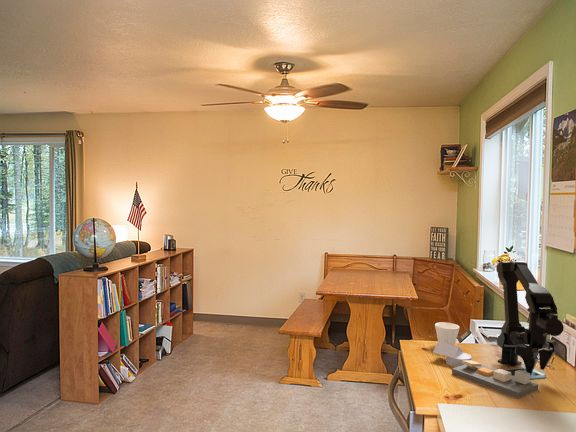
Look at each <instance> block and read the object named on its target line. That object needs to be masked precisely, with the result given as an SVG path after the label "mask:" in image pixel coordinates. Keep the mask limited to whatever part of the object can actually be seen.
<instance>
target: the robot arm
mask: <svg viewBox="0 0 576 432" xmlns="http://www.w3.org/2000/svg"><path fill="white" fill-rule="evenodd" d="M495 268H496V272H497V278H498V279H499V280H500V282H501V283H502V287H503V290H502V291H503V302H504V303H503V304H504V321H505V322H504V323H503V325H502V326H501V333H500V334H499V336H498V337H497V338H496V345H497V346H498V347H499V348H501V356H500V357H501V358H500V359H498V360H497V362H498V363H501V364H505V365H507V366H510V367H516V366H518V365H519V366H520V365H521V364H522V363H523V364H524V367H525V370H526V371H525V372H528V373H530V376H532V374H533V371H534V369H535V367H536V364H537V362H538V360H539V369H540V370H542V371H544V370H545V369H546V367H547V366H548V364H549V362H550V361H551V359H552V358H553V356H554V355H555V354H556V353H557V350H559V344H558V342H557V341H556V340H552V339H548V336H552V337H558V336H560V335H561V334H562V333H563V332H564V329H565V328H564V327H565V326H564V324H563V321H561V319H559V315H558V307H557V305H556V303H555V300H554V297H553V295H552V294H551V293H550V291H549V290H548V289H547V288H546V287H543V286H541V285H540V284H539V283H538V280H537V279H536V278H535V277H534V275H533V273H532V272H531V269H529V266H528V262H527V261H523V260H513V261H505V260H503V261H500V262H499V263H497V264H496V267H495ZM518 282H519V284H521V286H522V288H523V289H524V292H525V297H524V299H525V302H526V304H527V306H528V308H527V309H526V310H527V312H529V314H528V315H529V316H528V328H525V326H524V325H522V324H521V322H520V312H519V301H518V287H517V284H518ZM519 357H520V358H521V360H522V361H523V362H522V361H519Z"/></svg>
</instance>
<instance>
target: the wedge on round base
mask: <svg viewBox="0 0 576 432" xmlns="http://www.w3.org/2000/svg"><path fill="white" fill-rule="evenodd" d="M432 353H433V354H437V355H441V356H444V357H445V362H446V364H447V365H448V366H450V367H452V368H455V367H459V366H462V365H465V364H462V361H463V360H472V356H471V355H470V354H469V353H467V352H463V350H462V348H461V347H460V346H459V345H450V344H446V343H442V342H438V341H437V342H436V344H435V347H434V349H433V350H432Z"/></svg>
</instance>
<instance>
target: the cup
mask: <svg viewBox="0 0 576 432" xmlns="http://www.w3.org/2000/svg"><path fill="white" fill-rule="evenodd" d="M434 328H435V331H436V337H437V342H442V343H446V344H450V345H455V344H456V341H457V339H458V334H459V331H460V326H459V325H458V324H456V323H451V322H445V321H444V322H443V321H441V322H440V321H439V322H436V323H435V324H434ZM455 346H456V345H455Z"/></svg>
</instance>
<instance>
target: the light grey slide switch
mask: <svg viewBox="0 0 576 432" xmlns="http://www.w3.org/2000/svg"><path fill="white" fill-rule="evenodd" d="M514 376H515V380H514V381H516V382H519V383H522V384H527V383H529V382H530V378H531V375H530V373H528V372H527V371H524V370H521V369H518V370H515V371H514Z"/></svg>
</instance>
